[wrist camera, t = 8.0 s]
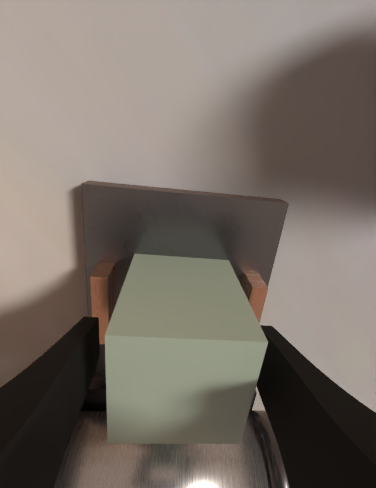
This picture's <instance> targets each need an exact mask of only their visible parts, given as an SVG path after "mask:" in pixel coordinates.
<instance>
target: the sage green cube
mask: <svg viewBox="0 0 376 488" xmlns="http://www.w3.org/2000/svg"><path fill="white" fill-rule="evenodd" d="M267 345H268V341H267V339H266V337H265V334H264V332H263V330H262V328H261V326H260V324H259V322H258V320H257V318H256V316H255V314H254V312H253V309H252V307H251V305H250V303H249V301H248V299H247V297H246V295H245V293H244V291H243V289H242V287H241V285H240V282H239V280H238V278H237V276H236V274H235V272H234V270H233V268H232V266H231V264H230V262H229V260H219V259H205V258H190V257H176V256H161V255H147V254H134V256H133V259H132V262H131V265H130V267H129V270H128V273H127V276H126V278H125V281H124V284H123V287H122V289H121V292H120V295H119V298H118V300H117V303H116V306H115V309H114V311H113V314H112V317H111V320H110V322H109V325H108V328H107V331H106V333H105V365H106V402H107V440H108V443H113V444H240V443H241V439H242V436H243V432H244V428H245V425H246V421H247V417H248V414H249V410H250V407H251V403H252V399H253V396H254V392H255V388H256V385H257V381H258V377H259V374H260V370H261V367H262V363H263V359H264V356H265V352H266V348H267Z"/></svg>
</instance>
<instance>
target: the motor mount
mask: <svg viewBox="0 0 376 488" xmlns="http://www.w3.org/2000/svg"><path fill="white" fill-rule="evenodd" d="M82 201H83V221H84V241H85V261H86V281H87V301H88V317H99V343H100V355H99V359H98V362H97V366H96V370H95V373H94V377H93V380H92V382H91V385H90V387H89V390H88V392H87V395H86V397H85V400H84V402H83V405H82V407H81V410H80V412H79V415H78V417H77V420H76V422H75V425H74V427H73V430H72V432H71V435H70V438H69V441H68V443H67V446H66V449H65V452H64V455H63V459H62V462H61V465H60V469H59V472H58V475H57V478H56V482H55V485H54V488H290V487H289V483H288V479H287V476H286V472H285V468H284V465H283V461H282V457H281V454H280V450H279V447H278V444H277V441H276V438H275V435H274V432H273V429H272V427H271V424H270V421H269V418H268V416H267V413H266V411H252V407H253V404H254V400H255V397H256V390H255V392H254V396H253V399H252V403H251V407H250V410H249V414H248V417H247V421H246V425H245V428H244V432H243V436H242V439H241V443H240V444H113V443H108V440H107V402H106V365H105V333H106V331H107V328H108V325H109V322H110V320H111V317H112V314H113V311H114V309H115V306H116V303H117V300H118V298H119V295H120V292H121V289H122V287H123V284H124V281H125V278H126V276H127V273H128V270H129V267H130V265H131V262H132V259H133V256H134V254H147V255H161V256H176V257H190V258H205V259H219V260H229V262H230V264H231V266H232V268H233V270H234V272H235V274H236V276H237V278H238V280H239V282H240V285H241V287H242V289H243V291H244V293H245V295H246V297H247V299H248V301H249V303H250V305H251V307H252V309H253V312H254V314H255V316H256V318H257V320H258V322H260V318H261V314H262V310H263V306H264V302H265V298H266V294H267V291H268V283H269V279H270V276H271V272H272V268H273V264H274V260H275V256H276V252H277V248H278V244H279V240H280V236H281V232H282V228H283V224H284V220H285V216H286V212H287V208H288V204H289V203H287V202H285V201H283V200H281V199H272V198H261V197H251V196H241V195H230V194H220V193H209V192H199V191H189V190H178V189H168V188H158V187H147V186H137V185H126V184H116V183H106V182H95V181H87V182H84V183H82Z"/></svg>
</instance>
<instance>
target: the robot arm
mask: <svg viewBox="0 0 376 488" xmlns="http://www.w3.org/2000/svg"><path fill="white" fill-rule="evenodd" d="M261 328H262V330H263V332H264V334H265V337H266V339H267V341H268V345H267V348H266V352H265V356H264V359H263V363H262V367H261V370H260V374H259V377H258V381H257V388H258V391H259V394H260V396H261V399H262V402H263V405H264V407H265V410H266V413H267V416H268V418H269V421H270V424H271V427H272V429H273V432H274V435H275V438H276V441H277V444H278V447H279V450H280V454H281V457H282V461H283V465H284V468H285V472H286V476H287V479H288V483H289V487H290V488H376V413H375V412H374V411H372V410H371V409H369V408H368V407H366V406H365V405H363V404H362V403H361V402H359V401H358V400H357V399H355V398H354V397H353V396H351V395H350V394H349V393H347V392H346V391H345V390H343V389H342V388H341V387H339V386H338V385H337V384H336V383H334V382H333V381H332V380H331V379H329V378H328V377H327V376H326V375H325V374H324V373H322V372H321V371H320V370H319V369H318V368H316V367H315V366H314V365H313V364H312V363H311V362H310V361H309V360H307V359H306V358H305V357H304V356H303V355H302V354H301V353H300V352H299V351H298V350H297V349H296V348H295V347H294V346H292V345H291V344H290V343H289V342H288V341H287V340H286V339H285V338H284V337H283V336H282V335H281V334H280V333H279V332H278V331H277V330H276V329H274V328H273V327H272V326H261ZM99 355H100V343H99V317H83V318H82V319H81V320H80V321H79V322H78V323H77V324H76V325H75V326H74V327H73V328H72V329H71V330H69V331H68V332H67V333H66V334H65V335H64V336H63V337H62V338H61V339H60V340H59V341H58V342H57V343H55V344H54V345H53V346H52V347H51V348H50V349H49V350H48V351H47V352H45V353H44V354H43V355H42V356H41V357H39V358H38V359H37V360H36V361H35V362H33V363H32V364H31V365H30V366H29V367H27V368H26V369H25V370H24V371H22V372H21V373H20V374H18V375H17V376H16V377H15V378H13V379H12V380H11V381H9V382H8V383H6V384H5V385H4V386H2V387H1V388H0V488H54V485H55V482H56V478H57V475H58V472H59V469H60V465H61V462H62V459H63V455H64V452H65V449H66V446H67V443H68V441H69V438H70V435H71V432H72V430H73V427H74V425H75V422H76V420H77V417H78V415H79V412H80V410H81V407H82V405H83V402H84V400H85V397H86V395H87V392H88V390H89V387H90V385H91V382H92V380H93V377H94V373H95V370H96V366H97V362H98V359H99Z"/></svg>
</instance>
